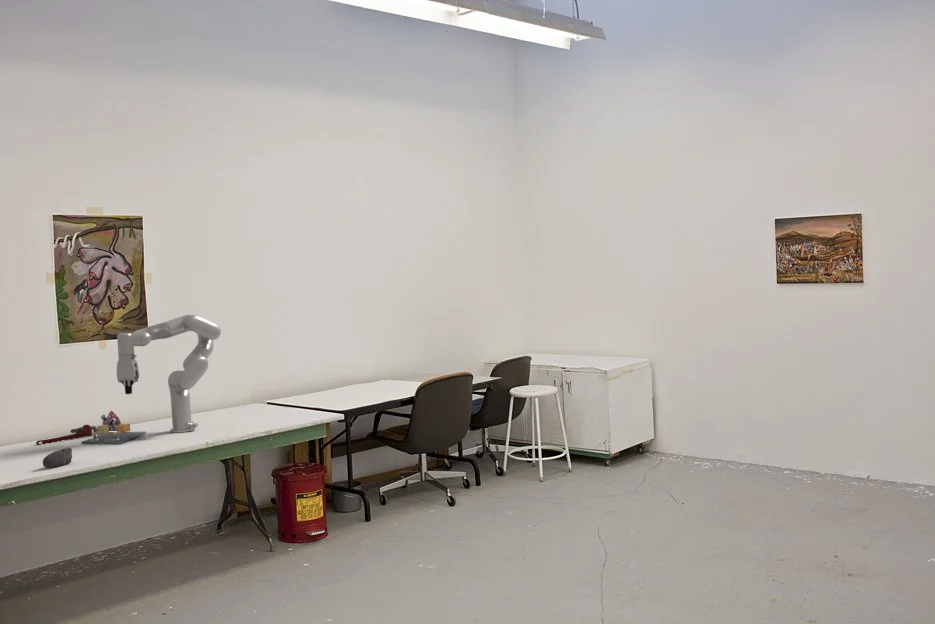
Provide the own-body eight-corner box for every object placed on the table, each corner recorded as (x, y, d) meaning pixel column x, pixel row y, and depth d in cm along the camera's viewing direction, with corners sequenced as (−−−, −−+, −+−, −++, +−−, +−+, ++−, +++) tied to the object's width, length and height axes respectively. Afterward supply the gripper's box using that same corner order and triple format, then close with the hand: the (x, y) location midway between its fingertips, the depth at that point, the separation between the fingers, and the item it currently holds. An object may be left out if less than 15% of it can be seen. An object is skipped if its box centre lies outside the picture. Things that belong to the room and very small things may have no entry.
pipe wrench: (35, 446, 434) (96, 435, 455) (37, 447, 432) (98, 435, 453) (34, 433, 434) (95, 422, 454) (36, 434, 432) (97, 423, 453)
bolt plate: (148, 437, 437) (147, 424, 437) (129, 444, 422) (128, 430, 422) (102, 438, 444) (101, 424, 443) (81, 444, 428) (80, 430, 428)
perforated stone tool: (47, 470, 371) (45, 454, 371) (39, 469, 374) (37, 453, 373) (77, 462, 385) (76, 447, 384) (69, 462, 387) (68, 446, 387)
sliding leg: (130, 433, 439) (129, 423, 439) (117, 438, 428) (116, 427, 428) (123, 433, 440) (123, 423, 440) (110, 438, 429) (109, 427, 429)
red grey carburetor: (115, 428, 456) (102, 410, 458) (102, 441, 459) (90, 423, 461) (130, 424, 467) (117, 407, 469) (117, 436, 470) (105, 419, 472)
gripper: (144, 356, 436) (146, 392, 437) (117, 357, 439) (119, 393, 440) (135, 358, 429) (137, 394, 429) (108, 358, 432) (110, 395, 433)
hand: (128, 393), depth 435 cm, fingers closed
